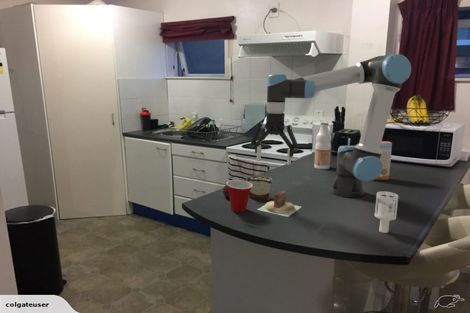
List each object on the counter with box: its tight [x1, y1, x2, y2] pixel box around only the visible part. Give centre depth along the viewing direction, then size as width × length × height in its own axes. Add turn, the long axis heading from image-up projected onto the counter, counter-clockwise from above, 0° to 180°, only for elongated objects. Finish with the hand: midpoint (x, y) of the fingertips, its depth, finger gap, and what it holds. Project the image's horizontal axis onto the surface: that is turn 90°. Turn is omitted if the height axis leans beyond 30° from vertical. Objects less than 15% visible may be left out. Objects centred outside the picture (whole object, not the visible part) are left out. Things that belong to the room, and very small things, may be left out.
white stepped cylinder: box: [374, 191, 399, 234], centre depth 129 cm, size 7×7×15 cm
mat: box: [256, 204, 302, 218], centre depth 152 cm, size 14×14×1 cm
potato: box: [222, 184, 230, 199], centre depth 166 cm, size 7×10×6 cm
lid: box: [264, 190, 295, 213], centre depth 151 cm, size 12×12×7 cm
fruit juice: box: [313, 122, 332, 170], centre depth 223 cm, size 9×9×28 cm
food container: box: [245, 174, 274, 201], centre depth 166 cm, size 12×6×10 cm, turn 71°
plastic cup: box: [226, 179, 253, 213], centre depth 148 cm, size 11×11×12 cm
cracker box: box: [373, 140, 393, 181], centre depth 200 cm, size 14×6×21 cm, turn 84°
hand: (273, 162), depth 155 cm, fingers open, 13 cm apart
